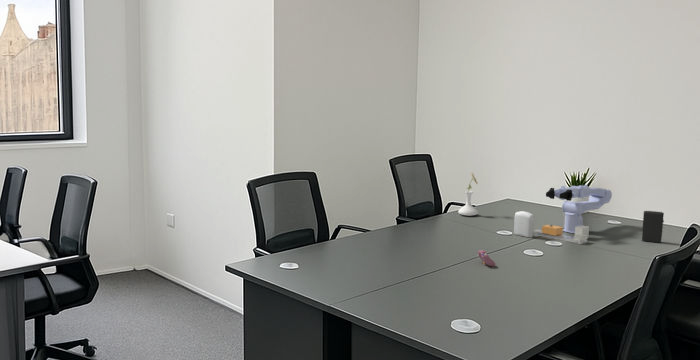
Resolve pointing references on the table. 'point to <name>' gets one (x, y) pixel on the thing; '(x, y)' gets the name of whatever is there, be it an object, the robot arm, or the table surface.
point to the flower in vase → (468, 208)
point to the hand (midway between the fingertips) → (553, 195)
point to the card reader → (652, 226)
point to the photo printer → (523, 224)
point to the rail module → (582, 230)
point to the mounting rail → (564, 237)
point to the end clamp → (552, 229)
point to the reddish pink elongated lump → (485, 258)
